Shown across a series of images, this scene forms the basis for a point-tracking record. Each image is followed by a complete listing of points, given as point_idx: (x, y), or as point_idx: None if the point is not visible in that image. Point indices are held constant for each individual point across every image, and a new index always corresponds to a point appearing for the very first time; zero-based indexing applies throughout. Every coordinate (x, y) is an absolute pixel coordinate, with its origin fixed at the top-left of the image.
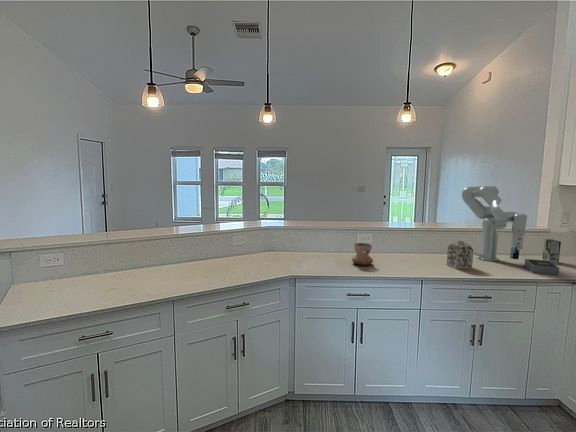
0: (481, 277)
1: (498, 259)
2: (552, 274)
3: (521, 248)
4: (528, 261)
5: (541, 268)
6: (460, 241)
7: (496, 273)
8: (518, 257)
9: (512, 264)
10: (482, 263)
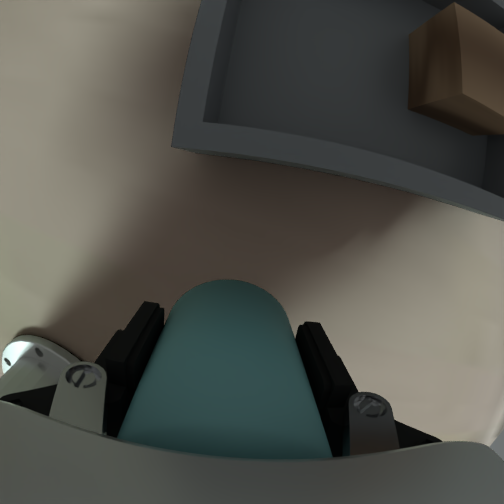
0: None
1: (55, 349)
2: None
3: (488, 460)
4: (374, 171)
5: None
6: None
7: (455, 431)
8: (272, 308)
9: (162, 271)
10: None
